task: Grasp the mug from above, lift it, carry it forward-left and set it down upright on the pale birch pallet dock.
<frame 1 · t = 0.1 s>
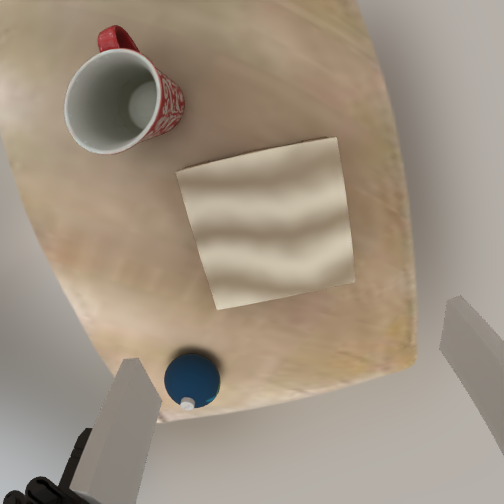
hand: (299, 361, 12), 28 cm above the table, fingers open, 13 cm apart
christmas ornament: (196, 362, 48), on the table
mug: (154, 93, 33), on the table
dock: (271, 222, 39), on the table
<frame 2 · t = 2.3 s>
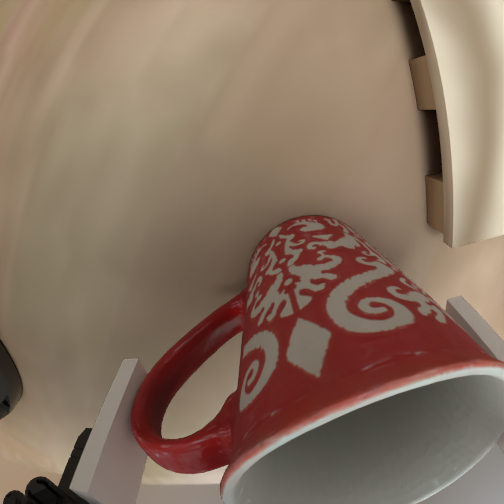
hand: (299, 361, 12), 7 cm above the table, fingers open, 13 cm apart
mug: (280, 274, 19), on the table
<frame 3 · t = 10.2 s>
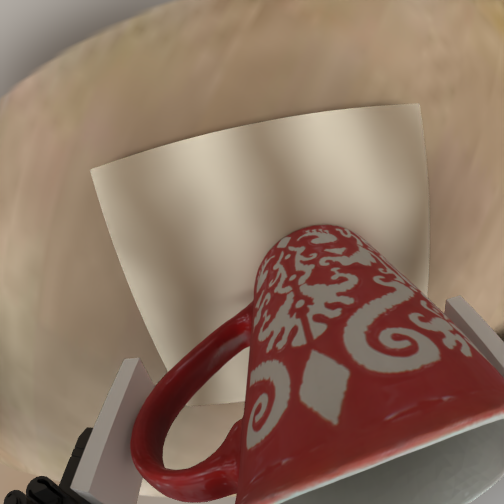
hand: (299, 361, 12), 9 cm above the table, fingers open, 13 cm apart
mug: (289, 286, 18), point 3 cm above the table, touching dock, gripper
dock: (281, 264, 20), on the table
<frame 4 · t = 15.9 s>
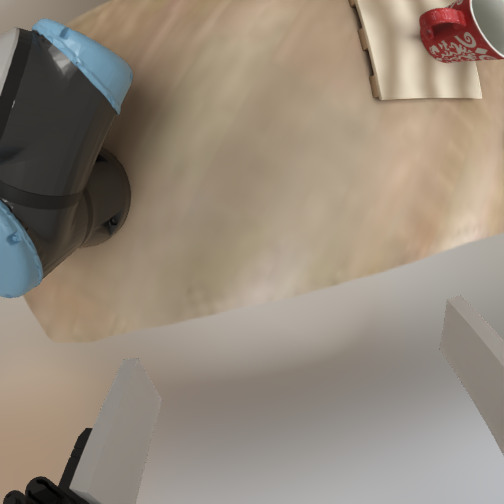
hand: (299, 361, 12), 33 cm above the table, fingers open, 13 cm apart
mug: (430, 38, 30), point 3 cm above the table, touching dock
dock: (415, 41, 33), on the table
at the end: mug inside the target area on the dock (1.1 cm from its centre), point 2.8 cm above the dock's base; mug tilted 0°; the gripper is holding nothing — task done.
